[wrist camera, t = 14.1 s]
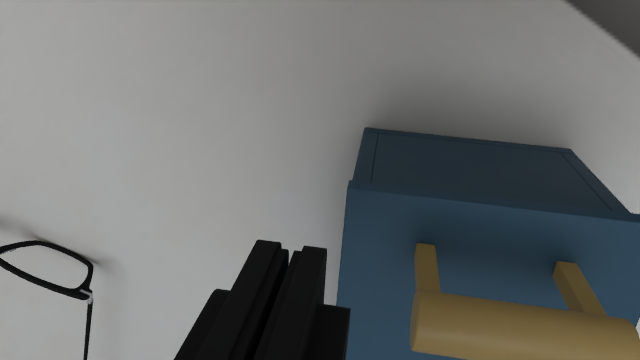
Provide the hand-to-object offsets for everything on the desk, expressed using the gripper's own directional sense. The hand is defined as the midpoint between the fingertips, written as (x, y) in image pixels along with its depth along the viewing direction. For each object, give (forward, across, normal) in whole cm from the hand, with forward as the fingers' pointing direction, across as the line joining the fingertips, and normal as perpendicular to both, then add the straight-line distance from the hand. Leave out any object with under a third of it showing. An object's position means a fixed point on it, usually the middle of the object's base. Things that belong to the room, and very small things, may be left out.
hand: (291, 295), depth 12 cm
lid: (+7, -6, +7) cm, 12 cm away
